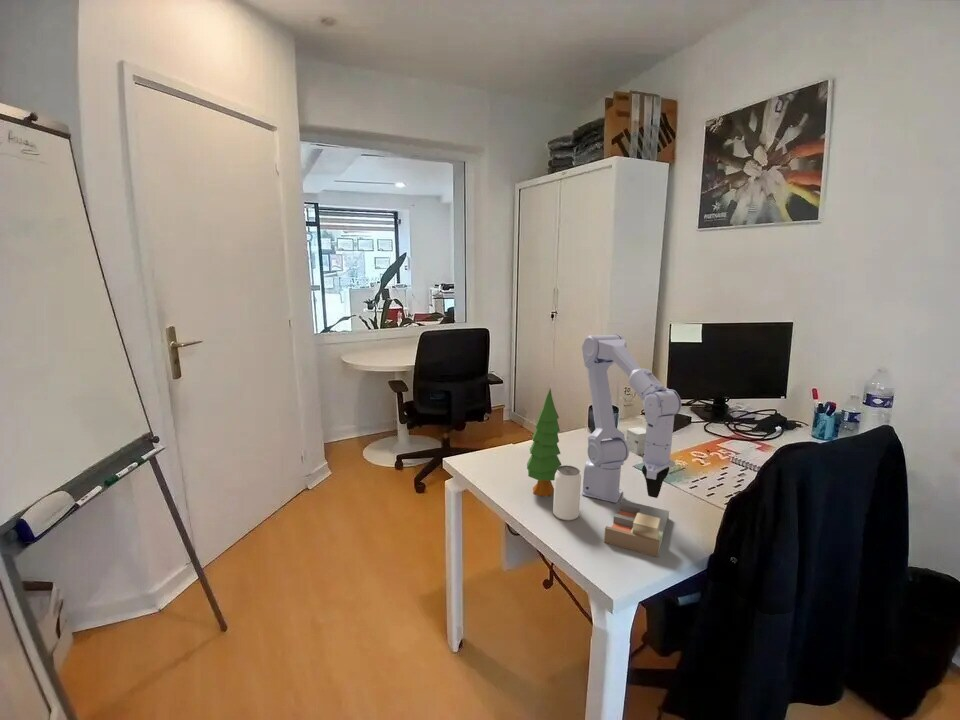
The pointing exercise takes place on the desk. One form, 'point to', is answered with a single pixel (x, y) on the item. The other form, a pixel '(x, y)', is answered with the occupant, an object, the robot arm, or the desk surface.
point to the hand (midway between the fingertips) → (653, 495)
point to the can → (567, 493)
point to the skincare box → (636, 440)
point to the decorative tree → (545, 449)
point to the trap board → (623, 528)
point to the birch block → (646, 526)
